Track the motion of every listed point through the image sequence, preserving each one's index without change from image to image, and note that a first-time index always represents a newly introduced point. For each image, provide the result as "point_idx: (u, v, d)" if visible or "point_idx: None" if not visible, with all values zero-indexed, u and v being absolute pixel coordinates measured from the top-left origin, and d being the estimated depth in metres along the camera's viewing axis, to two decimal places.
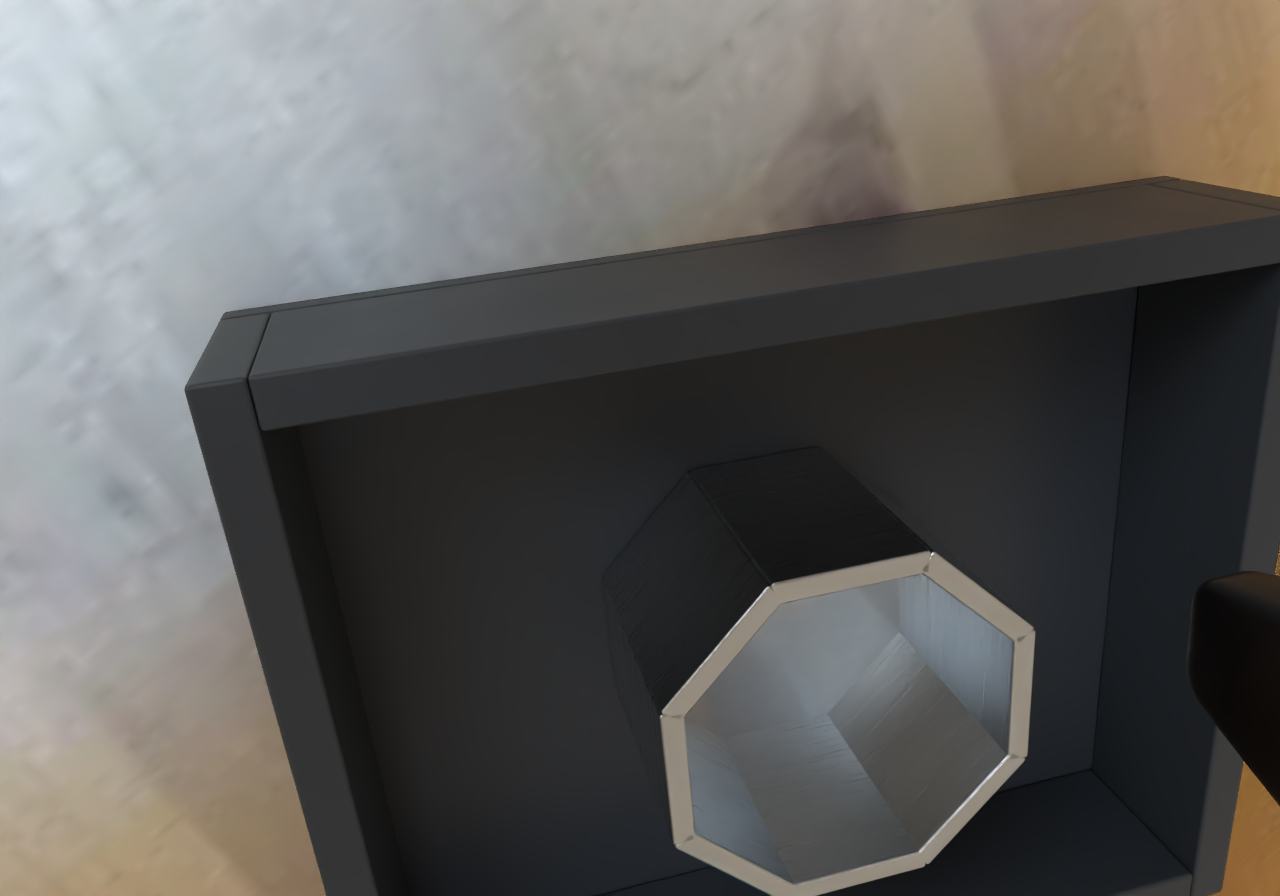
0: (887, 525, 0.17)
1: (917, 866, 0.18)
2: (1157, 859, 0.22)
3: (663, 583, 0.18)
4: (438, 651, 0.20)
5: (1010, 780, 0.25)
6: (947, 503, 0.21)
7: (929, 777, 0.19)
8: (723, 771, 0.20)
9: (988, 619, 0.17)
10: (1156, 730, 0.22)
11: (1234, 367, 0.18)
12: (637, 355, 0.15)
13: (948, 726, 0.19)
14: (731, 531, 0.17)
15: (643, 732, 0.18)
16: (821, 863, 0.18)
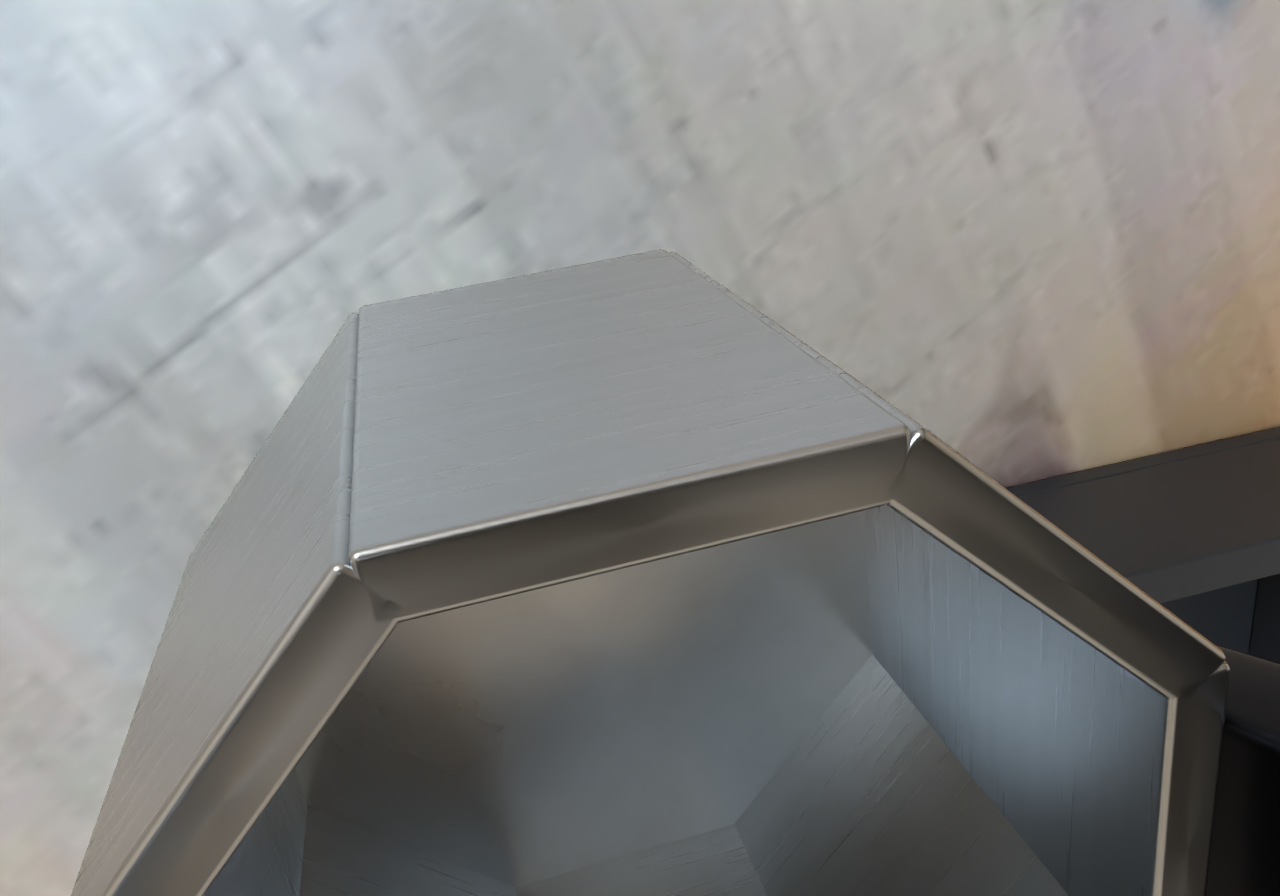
0: (785, 372, 0.06)
1: None
2: None
3: (222, 571, 0.07)
4: None
5: None
6: None
7: None
8: None
9: (1097, 640, 0.06)
10: None
11: None
12: None
13: (984, 885, 0.08)
14: (353, 417, 0.06)
15: None
16: None
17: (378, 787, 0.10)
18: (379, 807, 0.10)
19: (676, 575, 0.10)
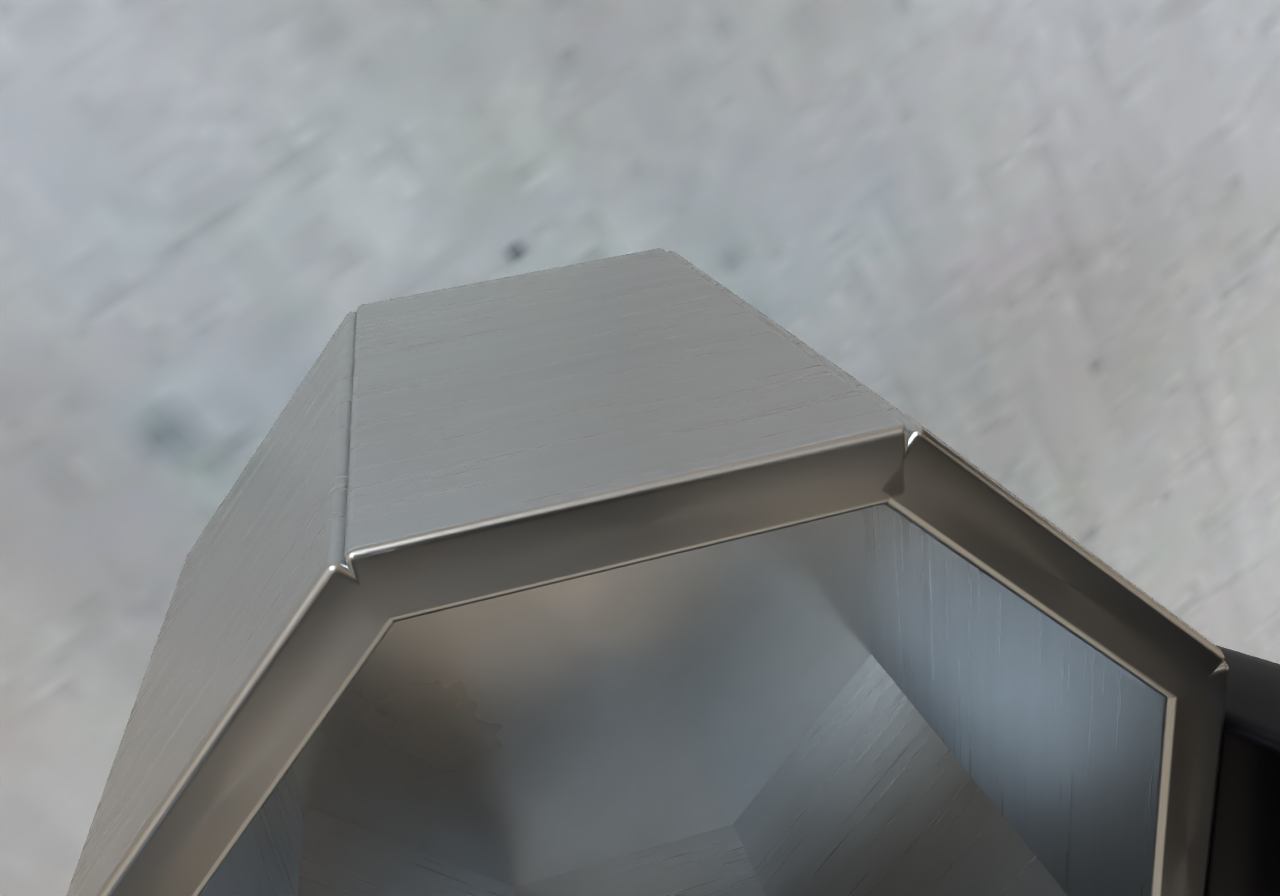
0: (781, 370, 0.06)
1: None
2: None
3: (218, 570, 0.07)
4: None
5: None
6: None
7: None
8: None
9: (1095, 640, 0.06)
10: None
11: None
12: None
13: (982, 884, 0.08)
14: (352, 415, 0.06)
15: None
16: None
17: (376, 787, 0.10)
18: (377, 807, 0.10)
19: (675, 575, 0.10)
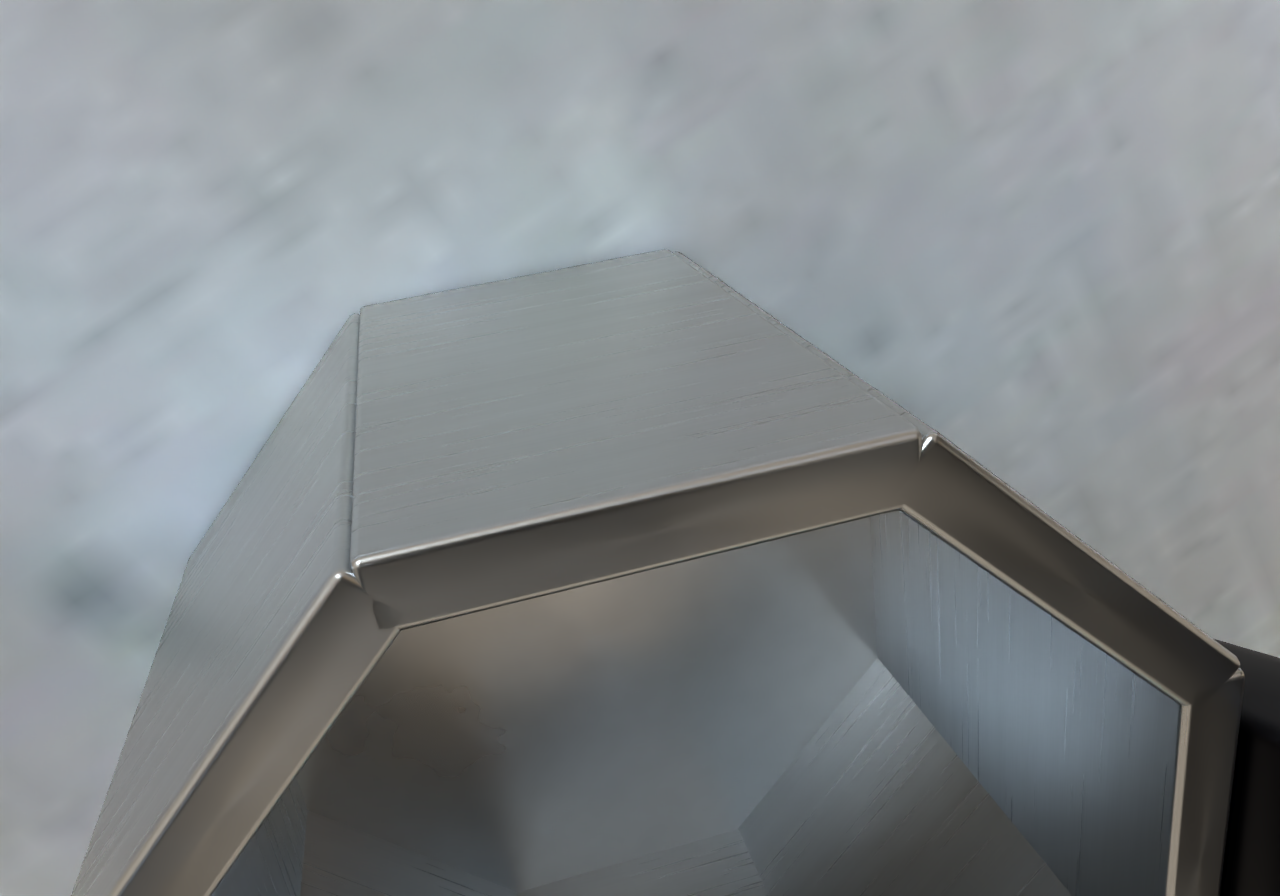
0: (793, 375, 0.06)
1: None
2: None
3: (221, 575, 0.07)
4: None
5: None
6: None
7: None
8: None
9: (1111, 647, 0.05)
10: None
11: None
12: None
13: (993, 891, 0.08)
14: (356, 418, 0.06)
15: None
16: None
17: (380, 792, 0.10)
18: (380, 812, 0.10)
19: (680, 578, 0.10)
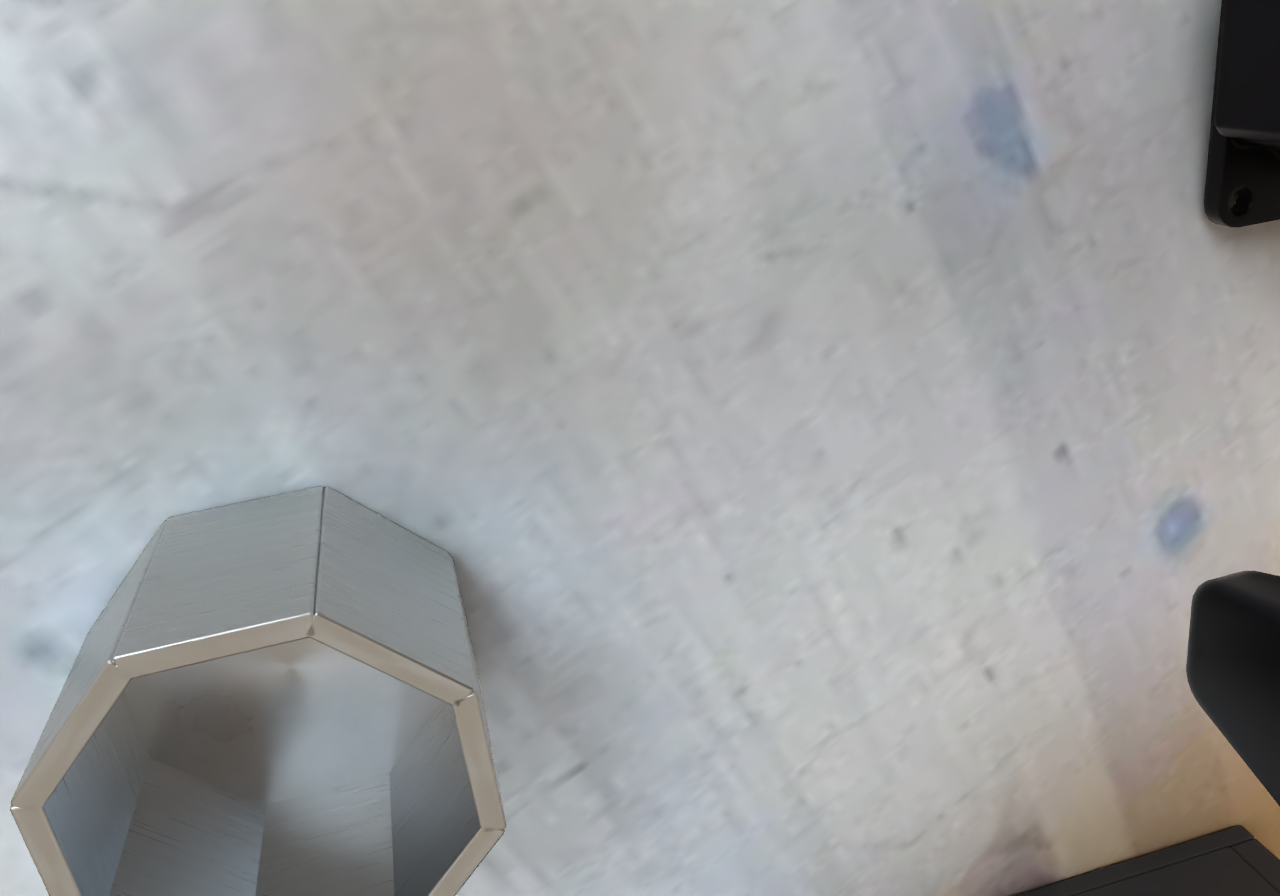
0: (297, 581, 0.15)
1: None
2: None
3: (91, 649, 0.16)
4: None
5: None
6: None
7: (427, 850, 0.17)
8: (229, 846, 0.18)
9: (409, 683, 0.15)
10: None
11: None
12: None
13: (455, 791, 0.17)
14: (140, 591, 0.15)
15: None
16: None
17: (187, 749, 0.19)
18: (188, 759, 0.19)
19: None
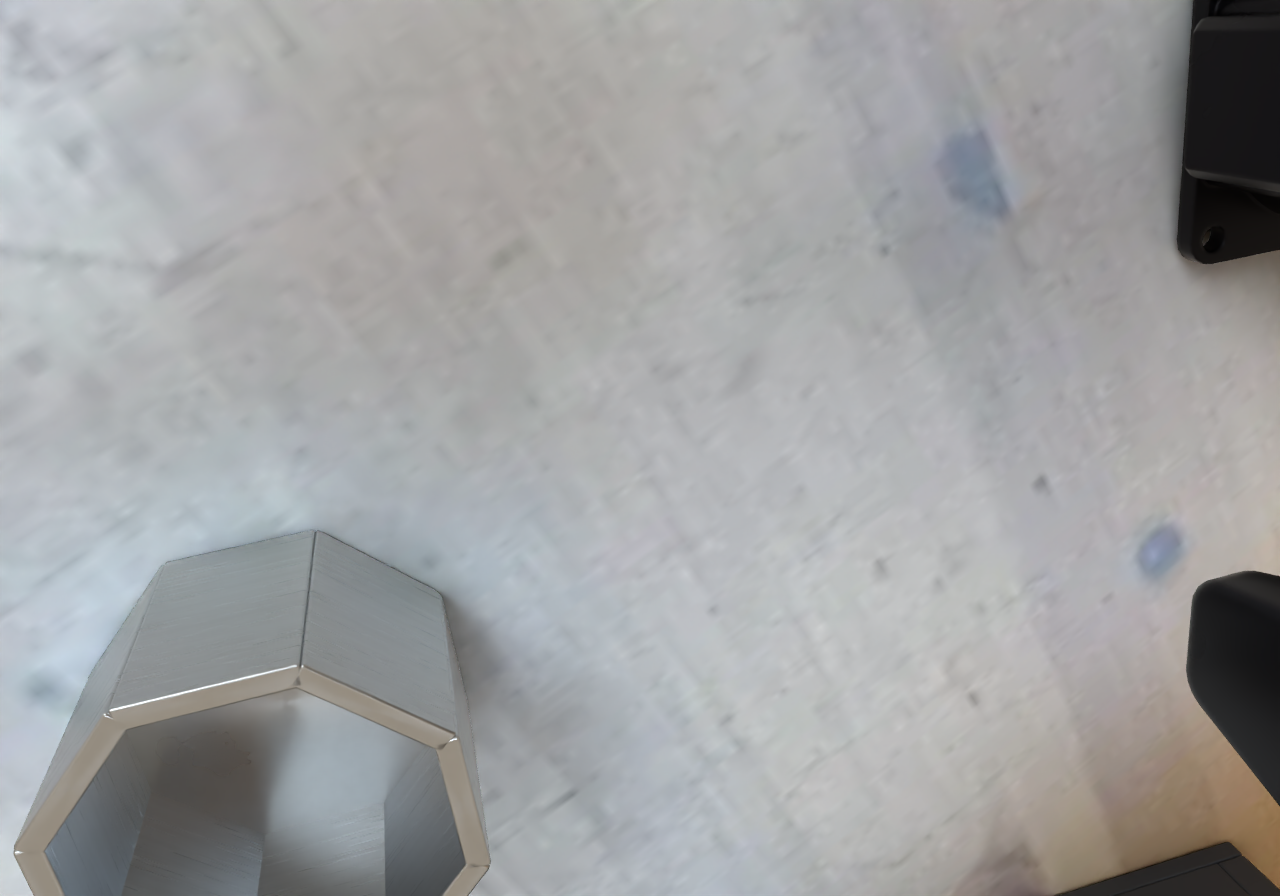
0: (285, 631, 0.16)
1: None
2: None
3: (91, 694, 0.17)
4: None
5: None
6: None
7: (416, 882, 0.18)
8: (228, 878, 0.19)
9: (393, 729, 0.15)
10: None
11: None
12: None
13: (444, 826, 0.18)
14: (136, 640, 0.16)
15: None
16: None
17: (187, 783, 0.20)
18: (189, 792, 0.20)
19: None
